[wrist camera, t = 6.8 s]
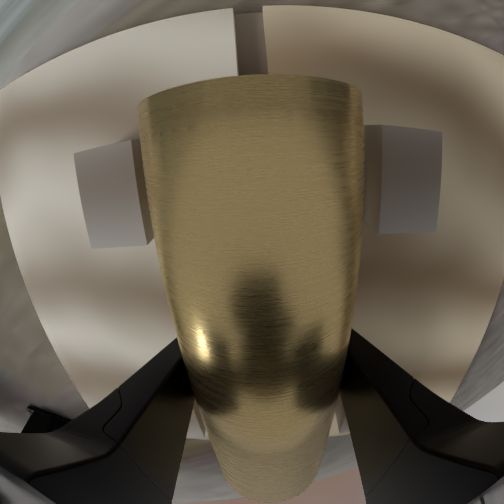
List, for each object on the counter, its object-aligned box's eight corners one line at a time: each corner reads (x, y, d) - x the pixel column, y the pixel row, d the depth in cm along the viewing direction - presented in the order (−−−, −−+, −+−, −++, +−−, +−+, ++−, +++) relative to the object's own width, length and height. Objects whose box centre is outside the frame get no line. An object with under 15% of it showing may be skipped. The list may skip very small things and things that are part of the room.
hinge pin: (313, 422, 13) (324, 497, 9) (225, 426, 13) (219, 502, 9) (330, 105, 7) (404, 82, 3) (173, 115, 7) (92, 103, 3)
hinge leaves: (438, 400, 16) (455, 435, 13) (105, 412, 17) (89, 447, 14) (502, 64, 7) (550, 60, 4) (7, 95, 9) (-43, 98, 6)
